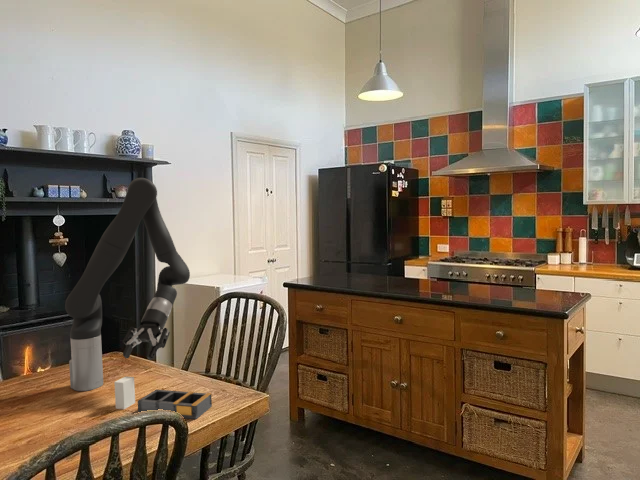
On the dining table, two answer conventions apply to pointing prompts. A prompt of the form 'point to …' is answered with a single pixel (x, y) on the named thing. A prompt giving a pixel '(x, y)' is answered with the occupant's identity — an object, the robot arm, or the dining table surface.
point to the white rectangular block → (124, 392)
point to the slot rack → (177, 402)
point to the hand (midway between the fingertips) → (137, 357)
